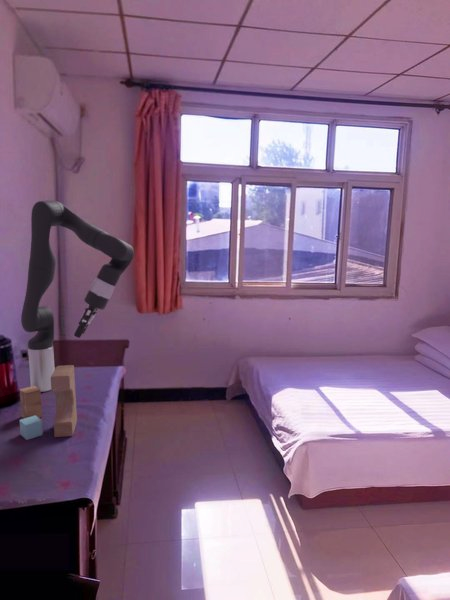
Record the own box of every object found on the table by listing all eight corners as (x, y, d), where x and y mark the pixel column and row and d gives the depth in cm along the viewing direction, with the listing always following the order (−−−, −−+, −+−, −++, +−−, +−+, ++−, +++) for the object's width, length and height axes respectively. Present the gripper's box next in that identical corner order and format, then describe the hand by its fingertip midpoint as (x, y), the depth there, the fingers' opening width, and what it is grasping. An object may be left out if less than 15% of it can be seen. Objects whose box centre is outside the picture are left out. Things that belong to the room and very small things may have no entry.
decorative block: (72, 436, 139) (69, 376, 135) (53, 438, 138) (49, 376, 134) (77, 421, 150) (74, 364, 146) (60, 422, 149) (56, 365, 145)
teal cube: (20, 434, 140) (19, 419, 139) (36, 429, 144) (35, 415, 143) (26, 440, 137) (25, 425, 136) (42, 435, 140) (41, 420, 139)
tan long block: (21, 416, 153) (19, 389, 151) (36, 412, 156) (34, 385, 155) (27, 421, 149) (25, 393, 148) (42, 417, 153) (40, 389, 151)
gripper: (92, 287, 161) (72, 327, 161) (87, 289, 147) (64, 333, 147) (111, 296, 163) (91, 336, 162) (107, 299, 149) (85, 342, 148)
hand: (78, 334), depth 155 cm, fingers open, 8 cm apart
